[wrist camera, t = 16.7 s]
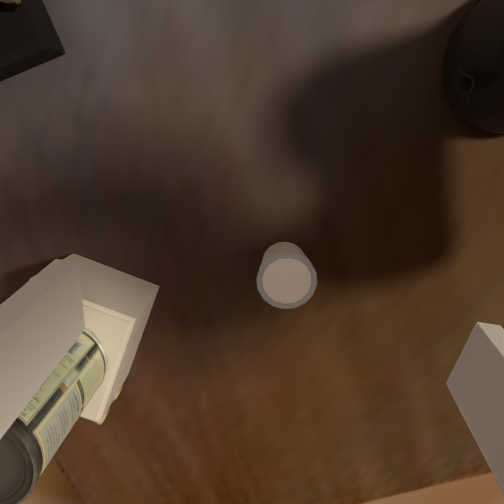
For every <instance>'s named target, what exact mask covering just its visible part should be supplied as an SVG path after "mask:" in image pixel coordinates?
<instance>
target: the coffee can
mask: <svg viewBox="0 0 504 504" xmlns="http://www.w3.org/2000/svg"><path fill="white" fill-rule="evenodd" d="M107 371H108V358H107V354H106V351H105V348H104V346H103V345H102V343H101V341H100V340H99V339H98V338H97V337H96V335H95V334H94V333H93V332H91V331H90V330H88V329H87V328H85V330H84V331H83V332H82V333H81V335H80V336H79V337H78V339H77V340H76V341H75V343H74V344H73V345H72V346H71V348H70V349H69V350H68V352H67V353H66V354H65V356H64V357H63V358H62V360H61V361H60V362H59V363H58V365H57V366H56V367H55V369H54V370H53V371H52V373H51V374H50V375H49V377H48V378H47V379H46V380H45V382H44V383H43V384H42V386H41V387H40V388H39V390H38V391H37V392H36V394H35V395H34V396H33V397H32V399H31V400H30V401H29V403H28V404H27V405H26V407H25V408H24V409H23V411H22V412H21V413H20V414H19V416H18V417H17V418H16V420H15V421H14V422H13V424H12V425H11V426H10V428H9V429H8V430H7V431H6V433H5V434H4V435H3V437H2V438H1V439H0V504H20V503H21V502H22V501H24V500H25V499H26V498H27V497H28V496H29V495H30V493H31V492H32V490H33V489H34V487H35V485H36V483H37V482H38V479H39V477H40V475H41V474H42V472H43V471H44V469H45V468H46V466H47V465H48V463H49V461H50V460H51V458H52V457H53V455H54V454H55V453H56V451H57V449H58V448H59V446H60V445H61V443H62V442H63V440H64V439H65V437H66V436H67V434H68V433H69V431H70V430H71V428H72V427H73V425H74V424H75V422H76V421H77V419H78V418H79V416H80V415H81V413H82V412H83V410H84V409H85V407H86V406H87V404H88V403H89V401H90V400H91V398H92V397H93V395H94V394H95V392H96V390H97V389H98V388H99V387H100V385H101V384H102V383H103V381H104V379H105V377H106V375H107Z"/></svg>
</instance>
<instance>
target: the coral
mask: <svg viewBox="0 0 504 504" xmlns="http://www.w3.org/2000/svg"><path fill="white" fill-rule="evenodd" d="M63 54H65V51H64V49H63V46H62V44H61V42H60V39H59V37H58V35H57V32H56V30H55V28H54V26H53V23H52V21H51V19H50V17H49V15H48V12H47V10H46V8H45V5H44V3H43V1H42V0H0V81H2V80H4V79H6V78H9V77H12V76H14V75H16V74H19V73H21V72H23V71H26V70H28V69H30V68H33V67H35V66H38V65H40V64H42V63H45V62H47V61H49V60H51V59H54V58H56V57H59V56H61V55H63Z"/></svg>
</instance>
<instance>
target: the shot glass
mask: <svg viewBox="0 0 504 504" xmlns="http://www.w3.org/2000/svg"><path fill="white" fill-rule="evenodd" d="M256 280H257V288H258V291H259V293H260V294H261V296H262V298H263V299H264V300H265V301H266V302H268V303H269V304H270V305H272V306H274V307H278V308H282V309H290V308H296V307H298V306H300V305H302V304H304V303H306V302H307V301H308V300H309V299H310V298H311V297H312V295H313V294H314V291H315V289H316V286H317V274H316V271H315V269H314V267H313V265H312V264H311V262H310V261H309V259H308V258H307V257H306V255H305V254H304V253H303V251H302V250H301V249H300V248H299V247H298V246H296V245H295V244H293V243H289V242H277V243H275V244H274V245H272V246H270V247H269V248H268V249H267V250H266V252H265V253H264V256H263V259H262V262H261V265H260V268H259V272H258V275H257V278H256Z"/></svg>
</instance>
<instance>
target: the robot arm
mask: <svg viewBox="0 0 504 504" xmlns="http://www.w3.org/2000/svg"><path fill="white" fill-rule="evenodd" d="M444 85H445V90H446V94H447V97H448V99H449V102H450V104H451V106H452V107H453V109H454V110H455V112H456V113H457V114H458V116H459V117H460V118H461V119H462V120H463V121H464V122H466V123H467V124H468V125H470V126H472V127H473V128H475V129H477V130H480V131H483V132H486V133H491V134H504V0H480V1H479V2H478V3H476V4H475V5H474V6H473V7H472V8H471V9H470V10H469V11H468V12H467V14H466V15H465V16H464V17H463V19H462V20H461V22H460V23H459V25H458V26H457V28H456V30H455V31H454V33H453V35H452V38H451V40H450V42H449V45H448V48H447V52H446V56H445V61H444ZM84 330H85V323H84V313H83V303H82V292H81V282H80V271H79V262H73V261H67V260H60V259H55V260H54V261H52V262H51V263H50V264H49V265H48V266H46V267H45V268H44V269H43V270H42V271H40V272H39V273H38V274H37V275H36V276H34V277H33V278H32V279H31V280H30V281H28V282H27V283H26V284H25V285H24V286H22V287H21V288H20V289H19V290H18V291H16V292H15V293H14V294H13V295H12V296H10V297H9V298H8V299H7V300H6V301H4V302H3V303H2V304H1V305H0V439H1V438H2V437H3V435H4V434H5V433H6V431H7V430H8V429H9V428H10V426H11V425H12V424H13V422H14V421H15V420H16V418H17V417H18V416H19V414H20V413H21V412H22V411H23V409H24V408H25V407H26V405H27V404H28V403H29V401H30V400H31V399H32V397H33V396H34V395H35V394H36V392H37V391H38V390H39V388H40V387H41V386H42V384H43V383H44V382H45V380H46V379H47V378H48V377H49V375H50V374H51V373H52V371H53V370H54V369H55V367H56V366H57V365H58V363H59V362H60V361H61V360H62V358H63V357H64V356H65V354H66V353H67V352H68V350H69V349H70V348H71V346H72V345H73V344H74V343H75V341H76V340H77V339H78V337H79V336H80V335H81V333H82V332H83V331H84ZM446 385H447V387H448V388H449V390H450V392H451V394H452V396H453V398H454V400H455V402H456V404H457V406H458V408H459V410H460V412H461V414H462V415H463V417H464V419H465V421H466V423H467V425H468V427H469V429H470V431H471V433H472V435H473V437H474V439H475V440H476V442H477V444H478V446H479V448H480V450H481V452H482V454H483V456H484V458H485V460H486V462H487V464H488V465H489V467H490V469H491V471H492V473H493V475H494V477H495V479H496V481H497V483H498V484H499V487H500V489H501V490H502V492H503V494H504V329H503V328H502V327H501V326H500V325H494V324H487V323H480V322H477V323H476V325H475V327H474V329H473V331H472V333H471V335H470V337H469V339H468V341H467V343H466V345H465V347H464V349H463V351H462V353H461V355H460V357H459V358H458V360H457V362H456V364H455V366H454V368H453V370H452V372H451V374H450V376H449V378H448V380H447V382H446Z"/></svg>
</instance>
